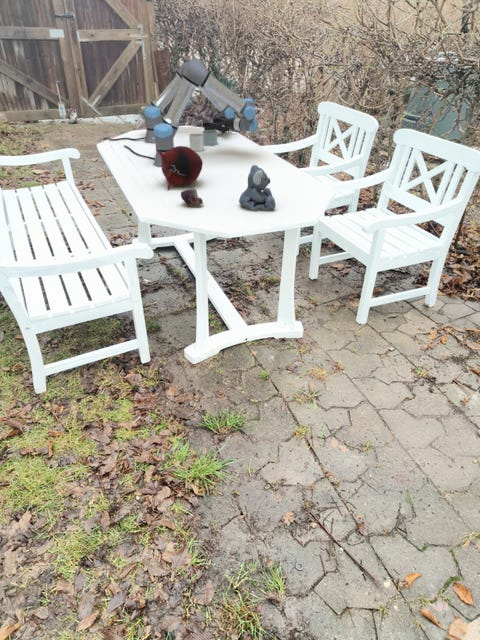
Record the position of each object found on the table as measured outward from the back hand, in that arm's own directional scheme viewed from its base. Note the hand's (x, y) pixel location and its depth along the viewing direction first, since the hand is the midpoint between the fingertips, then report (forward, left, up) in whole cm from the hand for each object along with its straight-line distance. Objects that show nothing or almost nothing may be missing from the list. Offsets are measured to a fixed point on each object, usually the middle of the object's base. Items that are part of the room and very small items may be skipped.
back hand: (213, 131), depth 342 cm
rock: (+30, -136, -7) cm, 139 cm away
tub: (0, -10, -7) cm, 12 cm away
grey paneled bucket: (-4, -29, -7) cm, 30 cm away
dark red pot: (+13, -103, -7) cm, 104 cm away
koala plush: (+63, -129, -7) cm, 144 cm away
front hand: (+6, -31, +13) cm, 34 cm away
